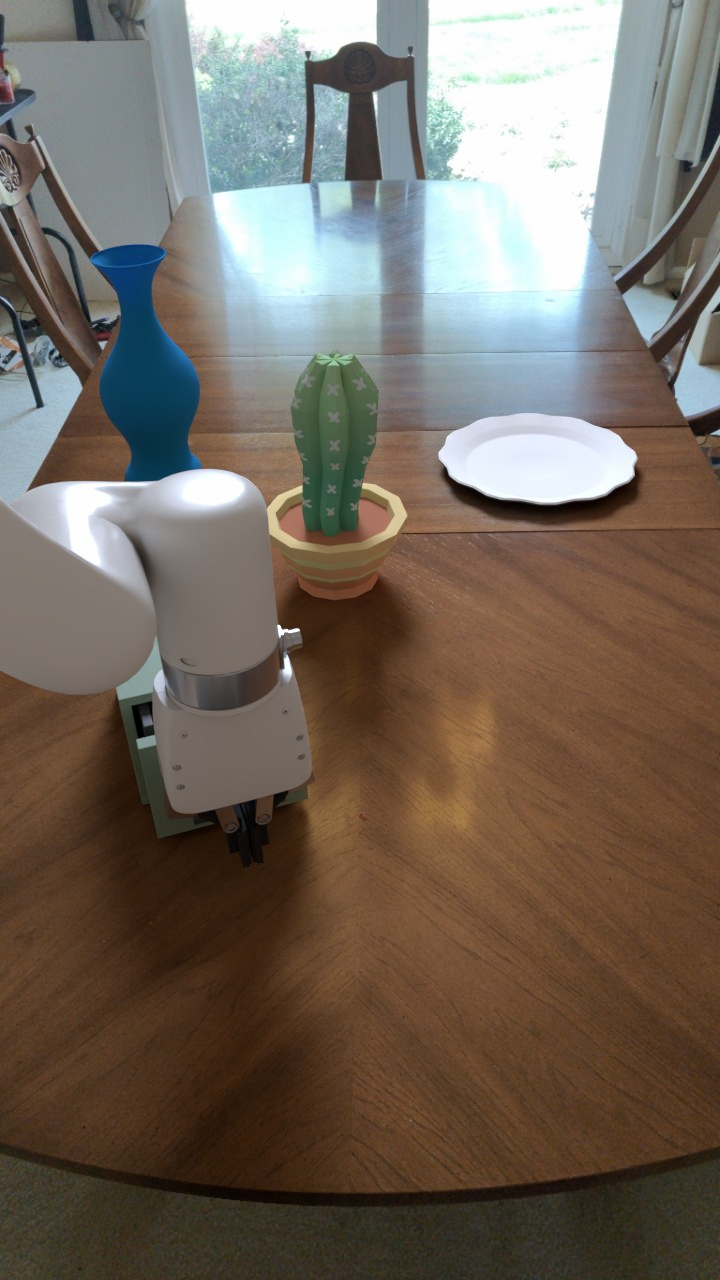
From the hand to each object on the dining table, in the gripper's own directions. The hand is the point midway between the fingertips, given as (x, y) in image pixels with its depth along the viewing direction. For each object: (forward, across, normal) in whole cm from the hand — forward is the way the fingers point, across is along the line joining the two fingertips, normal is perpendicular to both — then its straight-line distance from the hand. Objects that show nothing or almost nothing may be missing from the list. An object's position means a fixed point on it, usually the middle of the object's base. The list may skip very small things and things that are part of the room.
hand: (248, 851), depth 74 cm
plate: (+4, -51, -53) cm, 74 cm away
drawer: (+3, 0, -11) cm, 11 cm away
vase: (+4, -5, -69) cm, 69 cm away
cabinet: (+4, 0, -19) cm, 19 cm away
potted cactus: (+4, -19, -38) cm, 42 cm away
